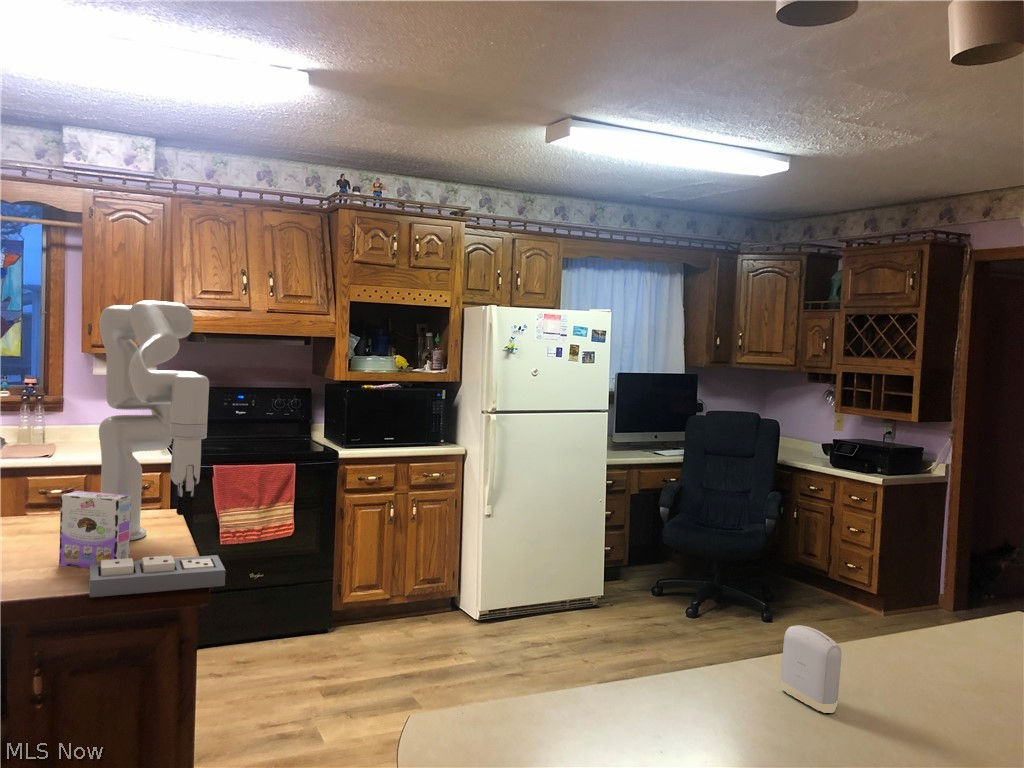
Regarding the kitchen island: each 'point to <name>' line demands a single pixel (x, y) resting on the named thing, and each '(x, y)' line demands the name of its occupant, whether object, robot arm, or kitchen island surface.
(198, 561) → the tile
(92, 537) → the candy box
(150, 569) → the tile
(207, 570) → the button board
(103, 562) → the tile
